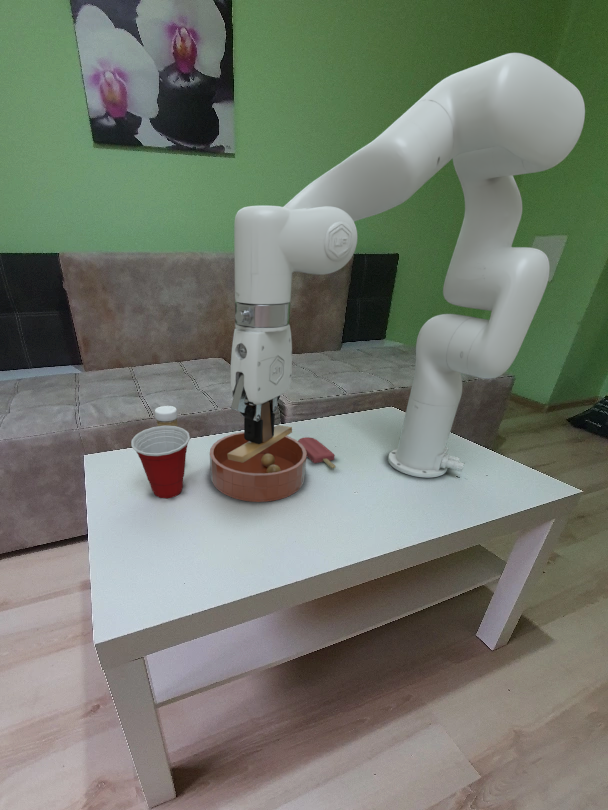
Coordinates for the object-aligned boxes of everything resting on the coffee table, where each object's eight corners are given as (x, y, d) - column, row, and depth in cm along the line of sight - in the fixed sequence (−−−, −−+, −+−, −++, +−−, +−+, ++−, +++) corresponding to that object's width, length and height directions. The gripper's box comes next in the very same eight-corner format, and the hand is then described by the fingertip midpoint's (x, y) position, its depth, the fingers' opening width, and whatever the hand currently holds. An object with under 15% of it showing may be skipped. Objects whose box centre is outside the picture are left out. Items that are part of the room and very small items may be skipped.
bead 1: (271, 449, 84) (279, 459, 85) (262, 451, 86) (270, 460, 87) (265, 459, 82) (274, 468, 84) (256, 461, 84) (264, 470, 86)
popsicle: (323, 466, 84) (294, 438, 96) (322, 472, 84) (293, 444, 96) (345, 462, 85) (313, 435, 97) (344, 468, 86) (312, 441, 98)
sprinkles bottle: (157, 465, 87) (150, 408, 80) (174, 458, 90) (168, 403, 83) (168, 472, 84) (162, 414, 77) (186, 465, 87) (181, 409, 80)
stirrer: (277, 430, 69) (275, 391, 65) (292, 432, 67) (290, 392, 64) (227, 459, 59) (221, 415, 56) (243, 463, 57) (238, 417, 54)
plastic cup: (128, 500, 75) (117, 444, 69) (158, 473, 84) (151, 422, 77) (177, 511, 72) (171, 454, 66) (203, 482, 81) (199, 430, 74)
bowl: (320, 471, 85) (323, 446, 82) (270, 514, 71) (271, 487, 68) (248, 446, 95) (248, 424, 92) (191, 480, 81) (189, 455, 78)
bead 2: (270, 459, 80) (279, 467, 78) (276, 464, 82) (285, 471, 81) (261, 471, 80) (270, 479, 79) (267, 475, 83) (277, 483, 81)
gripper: (248, 327, 46) (247, 463, 55) (314, 312, 57) (304, 428, 66) (202, 320, 49) (208, 449, 59) (272, 307, 60) (268, 417, 70)
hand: (259, 437), depth 62 cm, fingers closed on stirrer, 2 cm apart
